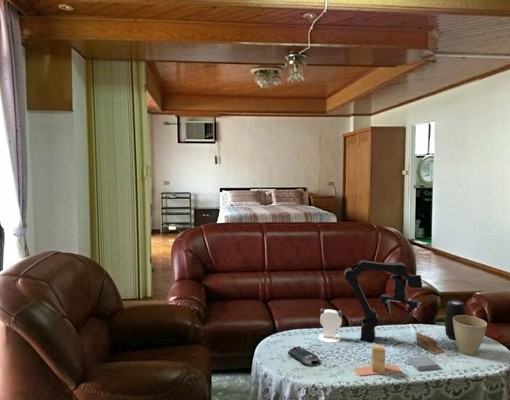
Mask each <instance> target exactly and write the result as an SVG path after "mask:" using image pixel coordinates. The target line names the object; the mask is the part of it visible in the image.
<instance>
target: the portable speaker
mask: <svg viewBox="0 0 510 400" xmlns="http://www.w3.org/2000/svg"><path fill="white" fill-rule="evenodd" d="M458 315H466V311H465V303H464V302H462V301H461V300H458V299H451V300H447V304H446V308H445V315H444V316H445V317H444V318H445V319H444V329H445V335H446V337H447V338H448V339H449V340H452V341H456V338H455V333H454V327H453V317H454V316H458Z"/></svg>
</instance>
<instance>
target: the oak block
mask: <svg viewBox="0 0 510 400" xmlns="http://www.w3.org/2000/svg"><path fill="white" fill-rule="evenodd" d="M370 359H371V362H370V363H371V364H370V367H372V371H373V372H380V373H385V365H386V349H385V346H384V345H376V344H375V345H374V344H372V345H371V358H370Z"/></svg>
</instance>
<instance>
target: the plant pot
mask: <svg viewBox="0 0 510 400" xmlns="http://www.w3.org/2000/svg"><path fill="white" fill-rule="evenodd" d="M453 327H454V333H455V338H456V340H455V341H456V344H457V347H458V352H459V353H461V354H463V355H465V356H476V355H477V353H478V351H479V350H480V347H481V344H482V343H483V340H484V337H485V334H486V331H487V327H488V323H487V321H485V320H484V319H481V318H479V317H476V316H470V315H466V314H465V315H458V316H454V317H453Z"/></svg>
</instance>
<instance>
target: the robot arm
mask: <svg viewBox="0 0 510 400" xmlns="http://www.w3.org/2000/svg"><path fill="white" fill-rule="evenodd" d="M364 270H369V271H378V272H387V273H390V274H391V275H390V277H389V278H390V279H391V280H393V291H392V293H393V294H392V295H393V296H392V297H391V294H387V293H386V294H385V293H383V294H382V295H380V296H379V302H380V303H381V304H383V305H384V307H385V309H386V311H387V313H388V316H391V302H393V303H399V304H404V305H408V307H407V317H406V319H407V320H410V319H409V318H410V317H411V314H412V311H413V310H415V309H418V308H419V306H420V301H419V300H420V299H414V298H410V300H408V292H409V291H407V290H406V289H407V287H408V288H409V289H421V290H422V288H423V283H422V282H423V280H422V276H421V275H420V274H410V273H409V272H408V268H407V266H406V265H405V264H404V263H403V262H399V261H396V262H395V261H394V262H389V263H388V262H380V261H379V262H378V261H369V260H364V259H362V260H360V261H359V262H357V263H355V264H354V265H352V266H351V267H347V268H346V269H344V274H343V275H344V277H345V280H346V281H347V283H348V284H349V286H350V287H351V289H353V292H354V294H355V296H356V298H357V300H358V302H359V304H360V306H361V309H362V311H363V313H364V318H363V319H362V320H361V325H362V326H361V327H360V337H359V340H360V341H364V342H367V343H373V342H374V341H375V340H376V330H375V328H376V327H377V326H378V325H379V315H378V314H377V312H376V309H375V308H371V307H370V304H369V303H368V301H367V299H366V296H365V294H364V292H363V290H362V288H361V285H360V284H359V280H358V276H359V275H360V274H361V273H362V272H364Z"/></svg>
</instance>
